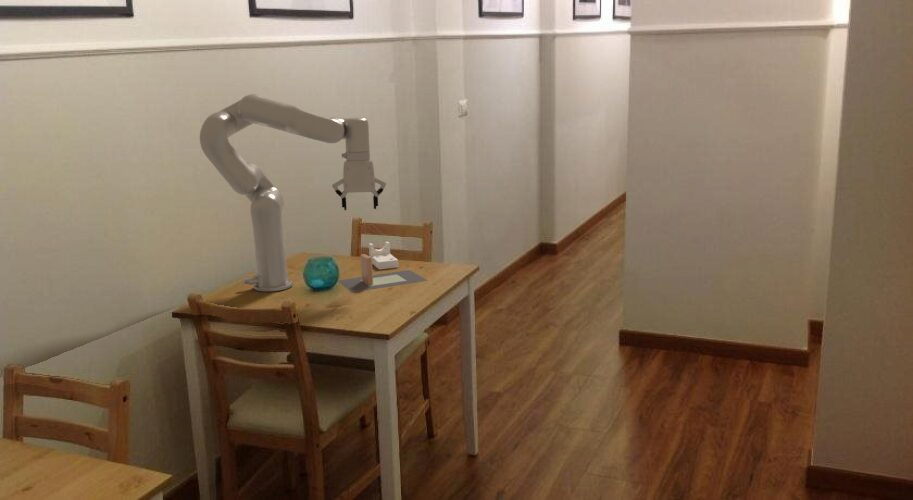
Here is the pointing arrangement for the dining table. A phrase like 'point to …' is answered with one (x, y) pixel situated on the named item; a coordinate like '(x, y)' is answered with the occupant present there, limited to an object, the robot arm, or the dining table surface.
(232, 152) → the robot arm
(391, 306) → the dining table surface
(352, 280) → the mat
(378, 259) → the bracket
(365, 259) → the tile
